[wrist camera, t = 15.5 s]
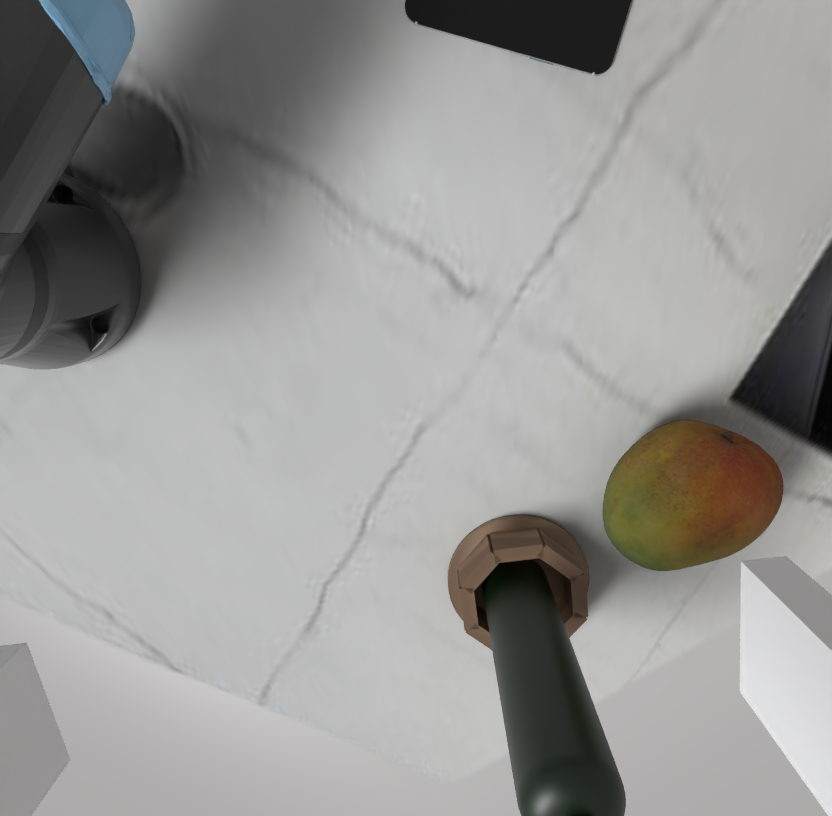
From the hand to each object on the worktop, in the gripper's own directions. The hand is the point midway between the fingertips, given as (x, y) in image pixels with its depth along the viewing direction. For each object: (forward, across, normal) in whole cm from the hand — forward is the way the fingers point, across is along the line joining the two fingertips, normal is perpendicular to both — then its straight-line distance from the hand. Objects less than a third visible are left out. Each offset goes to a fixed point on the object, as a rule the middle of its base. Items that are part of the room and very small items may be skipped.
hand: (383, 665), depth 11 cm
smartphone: (+37, +10, +23) cm, 45 cm away
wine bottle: (+36, +6, -22) cm, 43 cm away
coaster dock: (+37, +6, -22) cm, 43 cm away
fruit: (+37, +19, -14) cm, 44 cm away
